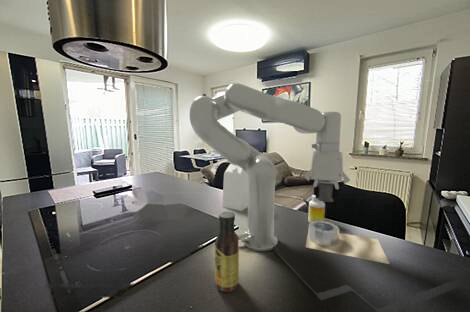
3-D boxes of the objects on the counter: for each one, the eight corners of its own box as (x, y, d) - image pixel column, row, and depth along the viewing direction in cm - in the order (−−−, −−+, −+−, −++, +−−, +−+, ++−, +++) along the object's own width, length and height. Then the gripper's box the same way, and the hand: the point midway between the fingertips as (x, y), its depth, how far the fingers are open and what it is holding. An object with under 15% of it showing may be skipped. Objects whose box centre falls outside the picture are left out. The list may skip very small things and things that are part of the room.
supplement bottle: (325, 228, 89) (327, 198, 88) (309, 226, 90) (310, 197, 89) (322, 221, 96) (323, 194, 94) (307, 220, 97) (308, 193, 96)
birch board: (305, 250, 72) (305, 247, 72) (308, 230, 87) (308, 227, 87) (389, 267, 63) (389, 264, 63) (377, 242, 78) (377, 239, 77)
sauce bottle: (215, 277, 59) (214, 209, 57) (237, 276, 59) (237, 208, 57) (215, 295, 52) (214, 219, 50) (240, 293, 53) (240, 218, 51)
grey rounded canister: (324, 202, 72) (325, 185, 72) (314, 198, 77) (314, 182, 77) (336, 201, 74) (337, 184, 73) (325, 196, 79) (326, 181, 78)
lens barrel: (321, 249, 71) (322, 234, 71) (303, 235, 80) (303, 222, 80) (344, 243, 74) (345, 230, 74) (324, 231, 84) (324, 219, 83)
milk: (251, 204, 119) (251, 158, 116) (241, 211, 109) (241, 161, 106) (233, 200, 125) (233, 157, 122) (222, 206, 115) (221, 159, 112)
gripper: (300, 148, 74) (299, 198, 76) (356, 149, 67) (353, 204, 69) (303, 146, 80) (301, 192, 82) (353, 147, 74) (351, 198, 76)
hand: (325, 197), depth 76 cm, fingers closed on grey rounded canister, 5 cm apart
